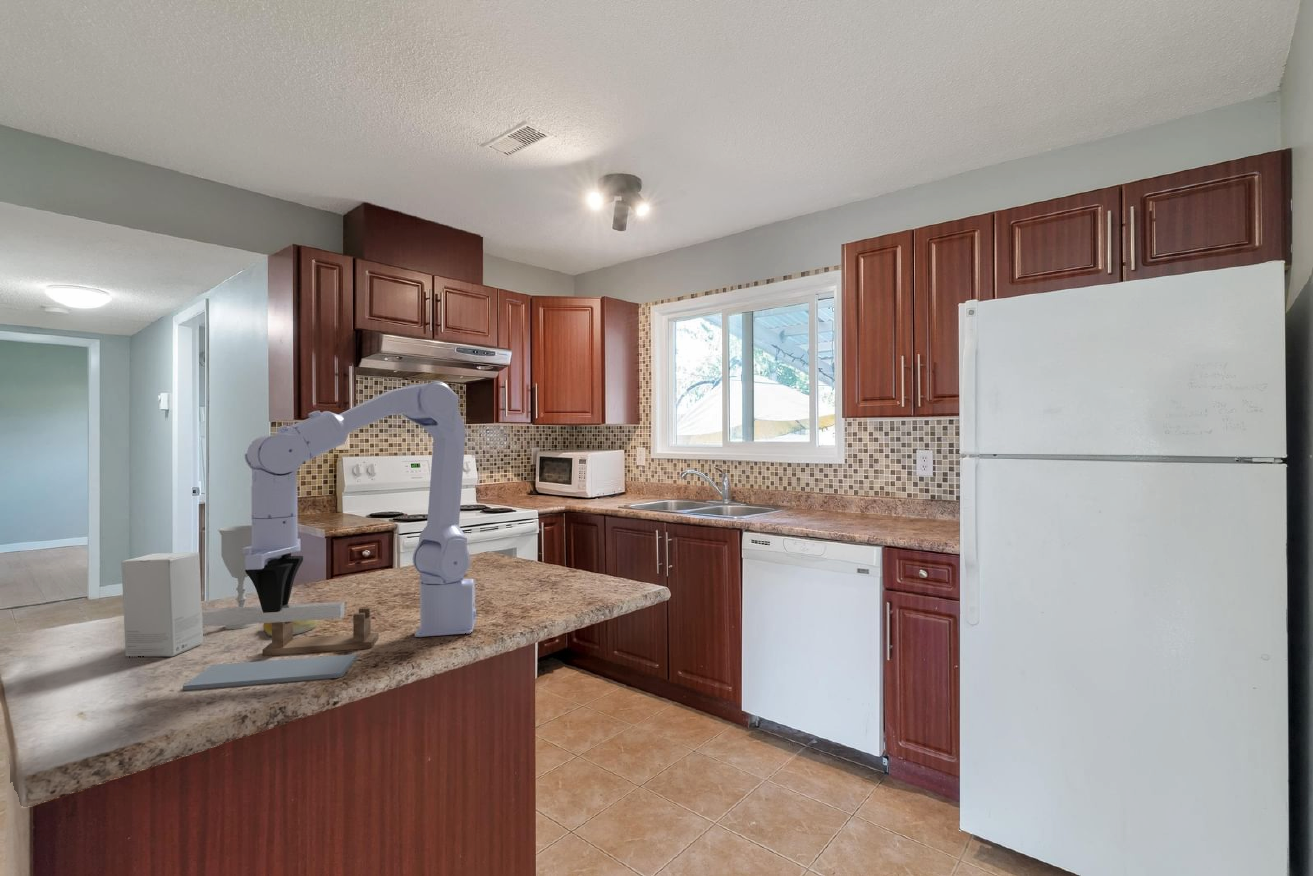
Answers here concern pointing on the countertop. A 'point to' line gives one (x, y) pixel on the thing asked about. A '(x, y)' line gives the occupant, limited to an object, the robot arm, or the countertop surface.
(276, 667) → the slate mat
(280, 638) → the cradle rack
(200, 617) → the skincare box
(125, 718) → the countertop surface
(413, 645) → the countertop surface
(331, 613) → the steel rail
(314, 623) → the bread roll
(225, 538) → the chalice
